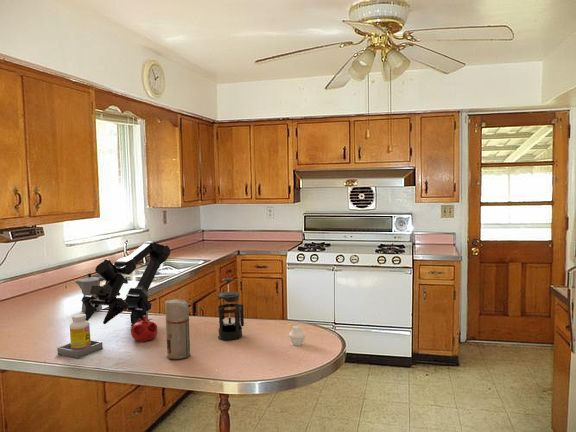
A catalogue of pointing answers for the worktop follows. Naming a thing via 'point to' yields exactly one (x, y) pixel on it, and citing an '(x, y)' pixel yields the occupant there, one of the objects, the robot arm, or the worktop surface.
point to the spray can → (177, 329)
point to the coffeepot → (89, 288)
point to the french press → (232, 324)
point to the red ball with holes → (144, 330)
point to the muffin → (297, 335)
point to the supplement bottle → (79, 332)
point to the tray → (67, 351)
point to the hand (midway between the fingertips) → (94, 322)
